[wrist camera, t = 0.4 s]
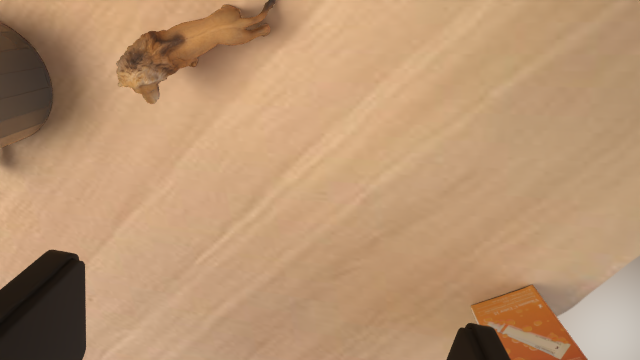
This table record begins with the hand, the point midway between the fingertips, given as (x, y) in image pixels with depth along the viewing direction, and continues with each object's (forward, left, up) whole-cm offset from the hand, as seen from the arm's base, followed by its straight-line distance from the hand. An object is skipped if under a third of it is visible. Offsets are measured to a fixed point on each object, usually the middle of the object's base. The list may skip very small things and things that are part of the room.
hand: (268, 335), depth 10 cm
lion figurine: (-3, -11, -36) cm, 38 cm away
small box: (+21, +30, -36) cm, 51 cm away
